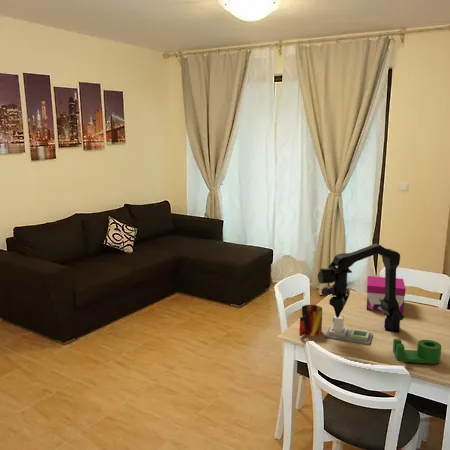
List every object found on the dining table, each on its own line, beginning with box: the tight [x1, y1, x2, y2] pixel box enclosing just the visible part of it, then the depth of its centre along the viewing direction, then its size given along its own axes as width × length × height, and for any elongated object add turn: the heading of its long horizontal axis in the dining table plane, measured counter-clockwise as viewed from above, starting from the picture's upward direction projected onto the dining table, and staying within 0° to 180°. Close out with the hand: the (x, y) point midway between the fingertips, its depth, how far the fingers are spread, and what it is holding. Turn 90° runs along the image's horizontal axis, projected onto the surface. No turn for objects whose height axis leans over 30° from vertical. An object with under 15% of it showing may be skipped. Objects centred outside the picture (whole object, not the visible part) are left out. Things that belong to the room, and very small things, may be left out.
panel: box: [324, 325, 374, 346], centre depth 213 cm, size 20×12×2 cm, turn 66°
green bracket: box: [392, 338, 442, 365], centre depth 191 cm, size 18×9×6 cm, turn 81°
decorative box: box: [366, 275, 406, 315], centre depth 249 cm, size 19×19×15 cm
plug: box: [332, 314, 345, 333], centre depth 214 cm, size 5×4×8 cm
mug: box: [298, 304, 323, 337], centre depth 215 cm, size 10×14×12 cm
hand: (339, 313), depth 213 cm, fingers open, 9 cm apart
